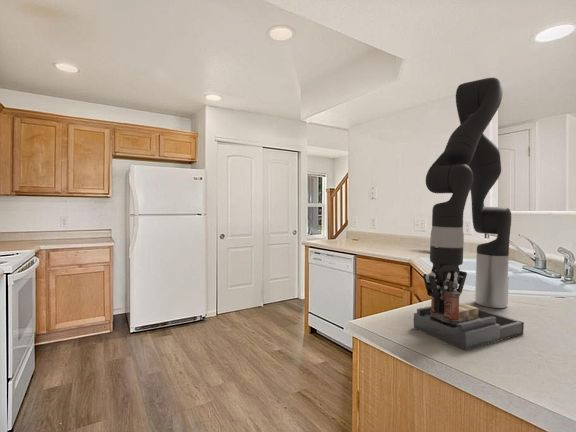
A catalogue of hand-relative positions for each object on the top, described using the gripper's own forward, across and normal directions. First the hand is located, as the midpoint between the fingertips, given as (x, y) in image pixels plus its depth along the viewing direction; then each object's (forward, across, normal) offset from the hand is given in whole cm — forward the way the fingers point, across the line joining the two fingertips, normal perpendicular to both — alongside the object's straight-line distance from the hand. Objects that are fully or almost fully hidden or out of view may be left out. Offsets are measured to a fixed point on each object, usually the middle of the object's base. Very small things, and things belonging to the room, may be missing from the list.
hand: (444, 311), depth 82 cm
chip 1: (+2, -5, 0) cm, 5 cm away
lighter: (+2, 0, 0) cm, 2 cm away
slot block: (+6, -4, 0) cm, 7 cm away
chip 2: (+2, -9, 0) cm, 9 cm away
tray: (+6, -16, 0) cm, 17 cm away
